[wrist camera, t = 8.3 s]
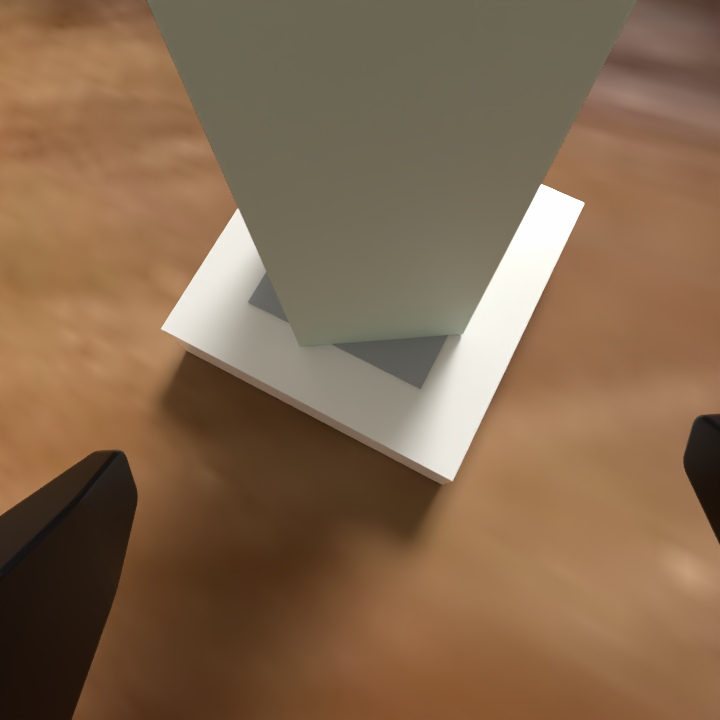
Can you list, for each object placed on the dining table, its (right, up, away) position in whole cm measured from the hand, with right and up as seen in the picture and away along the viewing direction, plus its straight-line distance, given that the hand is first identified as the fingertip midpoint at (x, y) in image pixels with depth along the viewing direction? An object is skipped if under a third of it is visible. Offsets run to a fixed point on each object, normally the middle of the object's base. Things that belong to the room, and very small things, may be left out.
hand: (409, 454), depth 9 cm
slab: (0, +4, +12) cm, 12 cm away
